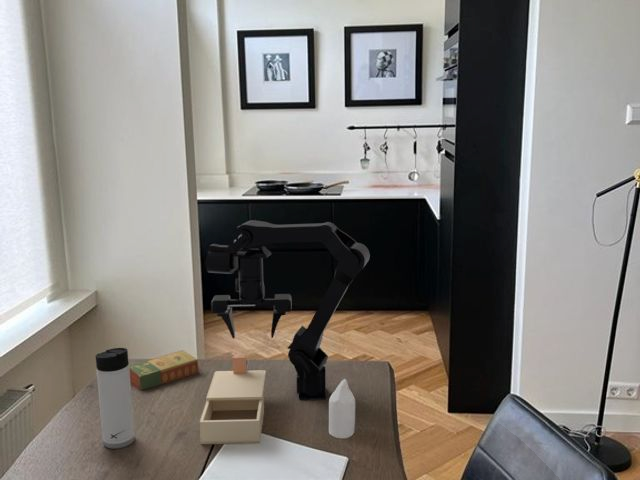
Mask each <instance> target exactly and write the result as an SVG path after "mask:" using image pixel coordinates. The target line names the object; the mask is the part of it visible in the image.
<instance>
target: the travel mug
mask: <svg viewBox="0 0 640 480" xmlns="http://www.w3.org/2000/svg"><path fill="white" fill-rule="evenodd" d="M95 363H96V378H97V392H98V400H99V401H98V403H99V412H100V413H99V414H100V424H101V425H100V426H101V433H102V444H103V446H104V447H106V448H108V449H113V450H115V449H122V448H126V447H127V446H130V445H131V444H132V443H133V442H134V441H135V440H136V437H135V434H136V433H135V422H134V413H133V412H134V411H133V398H132V397H133V396H132V390H131V389H132V388H131V387H132V385H131V384H132V383H130V371H129V366H130V363H129V353H128V348H126V347H115V348H110V349H106V350H105V351H103V352H100V353H99V352H98V353H97V354H96V355H95Z"/></svg>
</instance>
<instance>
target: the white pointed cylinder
mask: <svg viewBox="0 0 640 480" xmlns="http://www.w3.org/2000/svg"><path fill="white" fill-rule="evenodd" d="M355 426H356V398H355V396H354V394H353V392H352V390H351V389H350V388H349V384H348V380H347V379H346V378H343V379H342V380H341V381H340V382H339V384H338V385H337V387H336V389H335V390H334V391H333V392H332V393H331V396H330V397H329V400H328V433H329V435H331V436H332V437H334V438H336V439H343V440H344V439H348V438H350V437H352V436H353V434H355Z"/></svg>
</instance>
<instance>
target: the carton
mask: <svg viewBox="0 0 640 480" xmlns="http://www.w3.org/2000/svg"><path fill="white" fill-rule="evenodd" d="M129 371H130V384H132V385H133V386H134V387H135V388H137V389H138V390H139V391H143V390H146V389H150V388H153V387H156V386H160V385H163V384H165V383H169V382H172V381H175V380H179V379H182V378H185V377H188V376H192V375H196V374H199V362H198V359H197V358H196V357H195V356H193V355H192V354H190V353H188V352H186V351H184V350H180V351H176V352H172V353H169V354H164V355H162V356H158V357H155V358H151V359H147V360H145V361H140V362H137V363H134V364H131V365H130V364H129Z"/></svg>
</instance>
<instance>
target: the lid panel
mask: <svg viewBox="0 0 640 480" xmlns="http://www.w3.org/2000/svg"><path fill="white" fill-rule="evenodd" d="M247 366H248V365H247V355H245V354H244V355H242V354H241V355H236V354H235V355H232V370H219V371H218V370H216V371H214V373H213V377H212V379H211V382H210V385H209V389H208V391H207V395H206V399H205V400H206V401H208V400H254V399H262V396H263V390H264V388H265V383H266V381H265V380H266V375H267V371H266V370H265V369H264V370H260V369H258V370H254V369H253V370H247V369H248V368H247ZM206 401H205V402H206Z"/></svg>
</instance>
